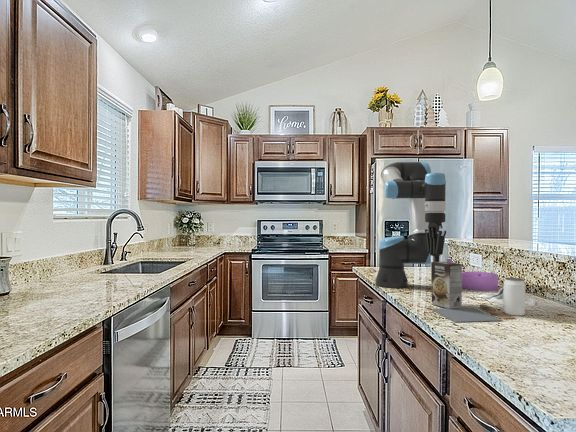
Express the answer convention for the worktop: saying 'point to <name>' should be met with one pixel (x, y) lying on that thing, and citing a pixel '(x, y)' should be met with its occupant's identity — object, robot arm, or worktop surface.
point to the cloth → (499, 298)
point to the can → (514, 297)
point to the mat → (465, 315)
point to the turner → (496, 312)
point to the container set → (479, 280)
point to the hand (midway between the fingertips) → (435, 272)
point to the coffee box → (446, 284)
